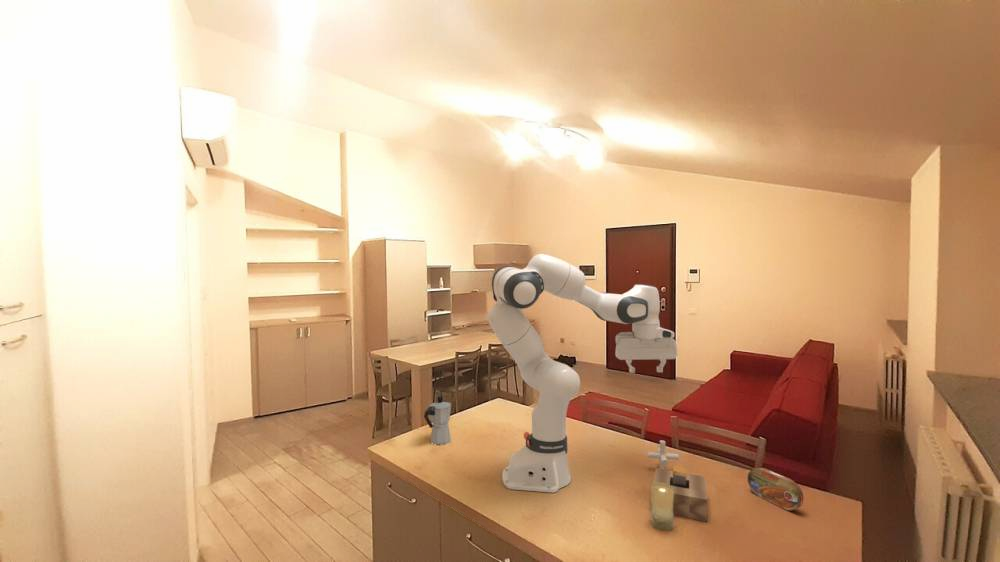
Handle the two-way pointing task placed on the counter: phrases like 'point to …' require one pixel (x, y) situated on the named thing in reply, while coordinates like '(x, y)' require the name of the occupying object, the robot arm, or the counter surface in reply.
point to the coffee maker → (439, 421)
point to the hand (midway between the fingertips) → (645, 372)
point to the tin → (775, 488)
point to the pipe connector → (662, 455)
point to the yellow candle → (662, 506)
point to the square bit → (679, 476)
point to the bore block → (687, 494)
